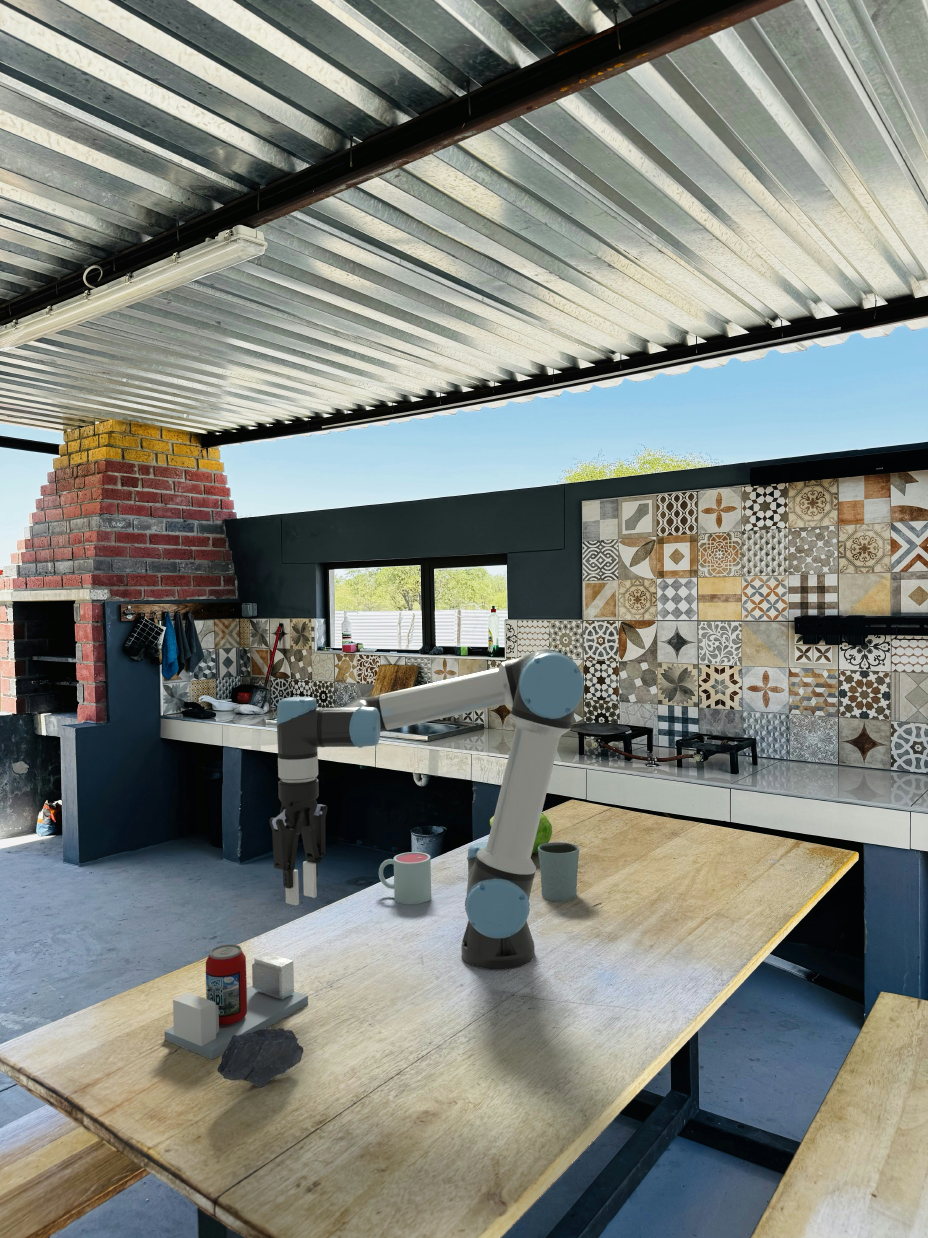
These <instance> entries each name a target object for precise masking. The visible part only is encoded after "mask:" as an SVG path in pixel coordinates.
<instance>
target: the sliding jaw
mask: <svg viewBox="0 0 928 1238" xmlns="http://www.w3.org/2000/svg"><path fill="white" fill-rule="evenodd" d="M253 960H254V963H251V973H252V974H251V975H252V986H253V988H255V991H258V992H261V993H264V994H267V995H270V996H273V997H276V998H279V999H282V1000H283V999H284V998H286V997H288V996H290V995H292V994H293V993H294V991H295V975H294V970H295V969H294V960H292V959H289V958H285V957H283V956H280V955H279V956H278V955H276V954H272V953H269V952H265V953H263V954H261V955H259V956H257V957H255V958H254V959H253Z"/></svg>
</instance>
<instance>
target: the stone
mask: <svg viewBox="0 0 928 1238" xmlns="http://www.w3.org/2000/svg"><path fill="white" fill-rule="evenodd" d="M298 1039H299V1038H298V1037H297V1035H296V1034H295V1033H294V1031H293V1030H291V1029H284V1028H281V1027H279V1028H266V1029H261V1030H257V1031H254V1032H250V1033H247V1034H244V1035H233V1036H232V1038H231V1040H230V1042H229V1044H228V1046H227V1048H226V1050H225V1052H224V1053H223V1054H221V1055H222V1056H221V1061H220V1063H219V1064H218V1066H217V1068H216V1070H217V1071H216V1072H217V1073H219V1074H220V1075H221V1076H222V1077H223V1078H224V1079H225V1080H229V1081H245V1082H249V1083H251V1084H252V1085H254V1086H256V1087H258V1088H262V1087H265V1086H266V1085H268V1083H269V1082H271V1080H273V1079H274V1078H275V1077H276V1076H278V1075H282V1074H284V1073H285V1072H287V1071H289V1070H290V1069H291V1068H294V1067H296V1065H298V1064H300V1062H301V1061H302V1059H303V1058H302V1057H303V1053H304V1050H305V1049H304V1046H302V1045H300V1043H299V1042H298Z"/></svg>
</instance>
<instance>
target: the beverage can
mask: <svg viewBox="0 0 928 1238" xmlns="http://www.w3.org/2000/svg"><path fill="white" fill-rule="evenodd" d="M247 987H248V983H247V956H246V954H244V952H243V949H242V947H241V946H240V945H237V944H234V943H233V944H230V943H229V944H222V945H219V946H218V945H217V946H215V947H213V948H212V949H210V951H209V954H208V957H207V958H206V961H205V995H206V998H205V999H208V1000H210V1001H213V1002H215V1005H218V1011H219V1026H229V1025H233V1024H235V1023H237V1022H239V1021H240V1020H241V1019H242V1018H244V1017H245V1016H246V1014H247Z"/></svg>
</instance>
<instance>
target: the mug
mask: <svg viewBox="0 0 928 1238" xmlns="http://www.w3.org/2000/svg"><path fill="white" fill-rule="evenodd" d="M390 864H391V865H393V883H390V882H389V881H387V880H386V878H385V877H384V876H385V875H384V869H385V867H387V866H388V865H390ZM431 865H432V863H431V855H430V854H428V853H426V852H419V851H411V852H409V851H408V852H403V853H400V854H397V855H394V857H393V859H392V858H388V859H385V860H384V861H383V862H382V863H381V864H380V866H379V868H378V877H379V880H380V882H381V883H382V885H383V886H384V887H386V888H387V889H389V890H390V889H391V890H394V891H393V893H394V897H393V898H394V901H395V902H397V903H399V904H404V905H419V904H423V903H427V902H428V901H430V900H431V899H432V871H431V870H432V868H431V867H432V866H431Z"/></svg>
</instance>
